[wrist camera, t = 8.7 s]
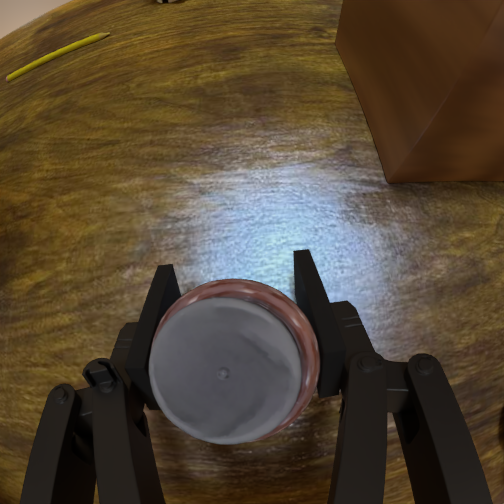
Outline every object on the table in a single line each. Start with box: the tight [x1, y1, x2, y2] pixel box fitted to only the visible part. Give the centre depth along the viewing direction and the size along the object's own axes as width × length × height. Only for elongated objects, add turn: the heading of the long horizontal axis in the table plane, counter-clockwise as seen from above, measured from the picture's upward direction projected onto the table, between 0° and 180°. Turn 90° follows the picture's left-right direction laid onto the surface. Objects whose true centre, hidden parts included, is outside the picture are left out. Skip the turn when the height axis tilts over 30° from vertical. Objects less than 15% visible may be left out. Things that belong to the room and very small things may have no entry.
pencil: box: [6, 33, 110, 82], centre depth 27 cm, size 16×1×1 cm, turn 98°
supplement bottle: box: [149, 279, 320, 445], centre depth 13 cm, size 6×6×11 cm
